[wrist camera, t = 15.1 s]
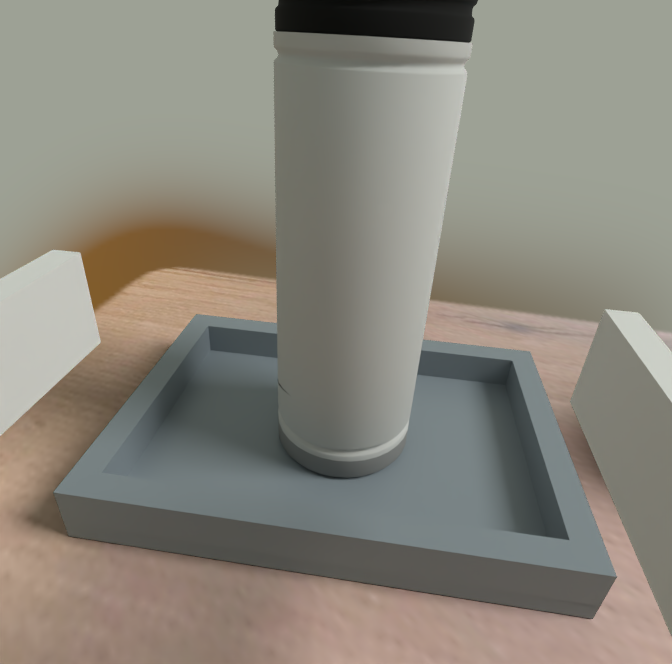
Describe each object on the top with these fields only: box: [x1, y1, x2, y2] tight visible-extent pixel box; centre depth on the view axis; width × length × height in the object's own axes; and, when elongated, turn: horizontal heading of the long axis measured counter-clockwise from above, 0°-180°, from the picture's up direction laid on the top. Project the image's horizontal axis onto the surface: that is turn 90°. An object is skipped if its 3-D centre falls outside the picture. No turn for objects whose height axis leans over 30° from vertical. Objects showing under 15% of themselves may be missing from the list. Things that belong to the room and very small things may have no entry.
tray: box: [53, 314, 617, 619], centre depth 24 cm, size 20×14×2 cm
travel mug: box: [274, 0, 478, 478], centre depth 19 cm, size 6×7×20 cm
